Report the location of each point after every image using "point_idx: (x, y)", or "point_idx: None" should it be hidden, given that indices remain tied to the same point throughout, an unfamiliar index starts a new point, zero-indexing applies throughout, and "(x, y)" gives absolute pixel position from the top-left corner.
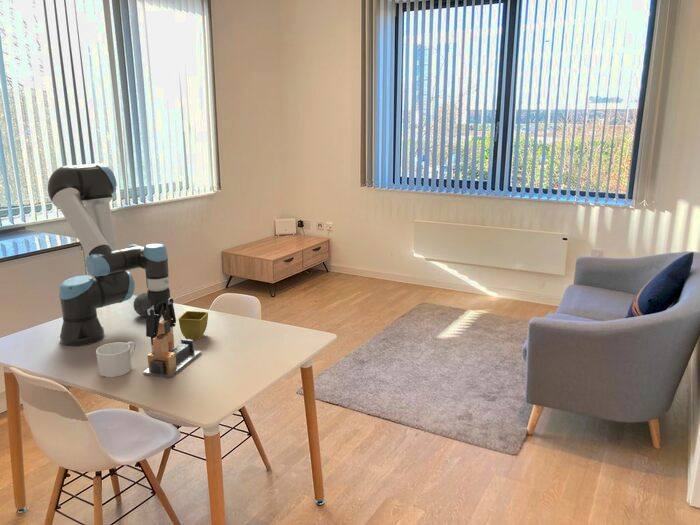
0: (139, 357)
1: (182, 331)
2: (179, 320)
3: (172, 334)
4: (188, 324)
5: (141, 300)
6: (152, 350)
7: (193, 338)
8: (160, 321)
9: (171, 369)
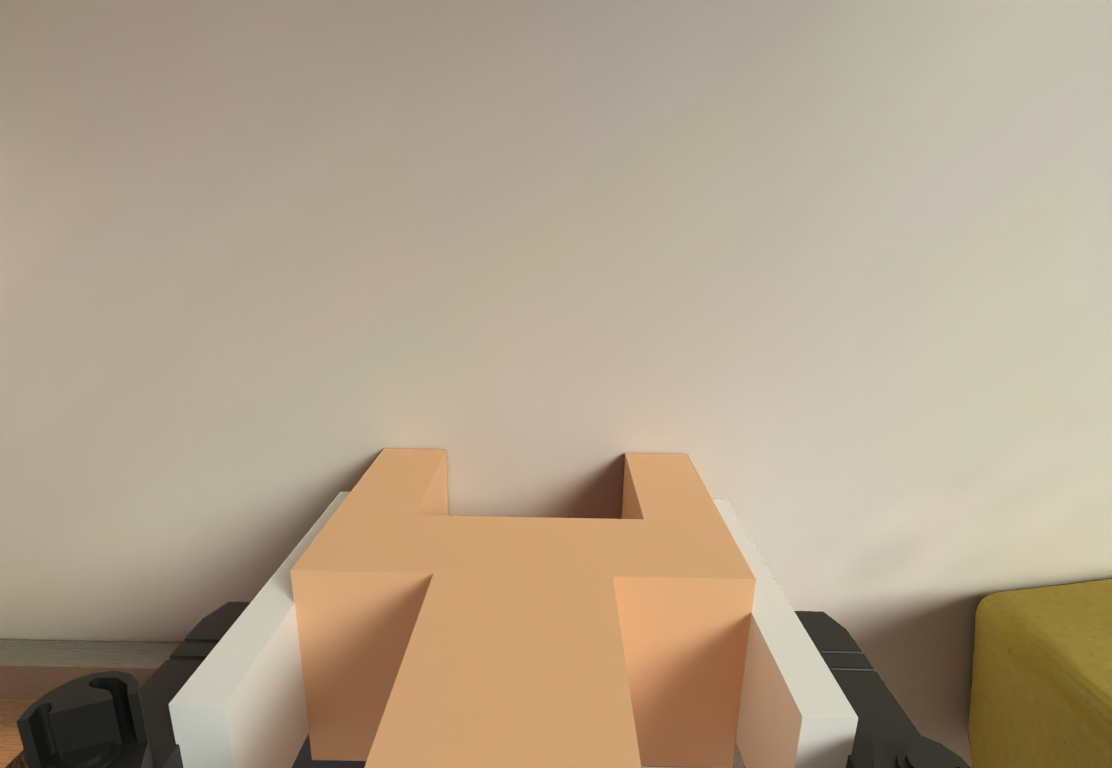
0: (258, 320)
1: (1028, 681)
2: None
3: (702, 764)
4: None
5: None
6: (325, 514)
7: (974, 702)
8: None
9: None
